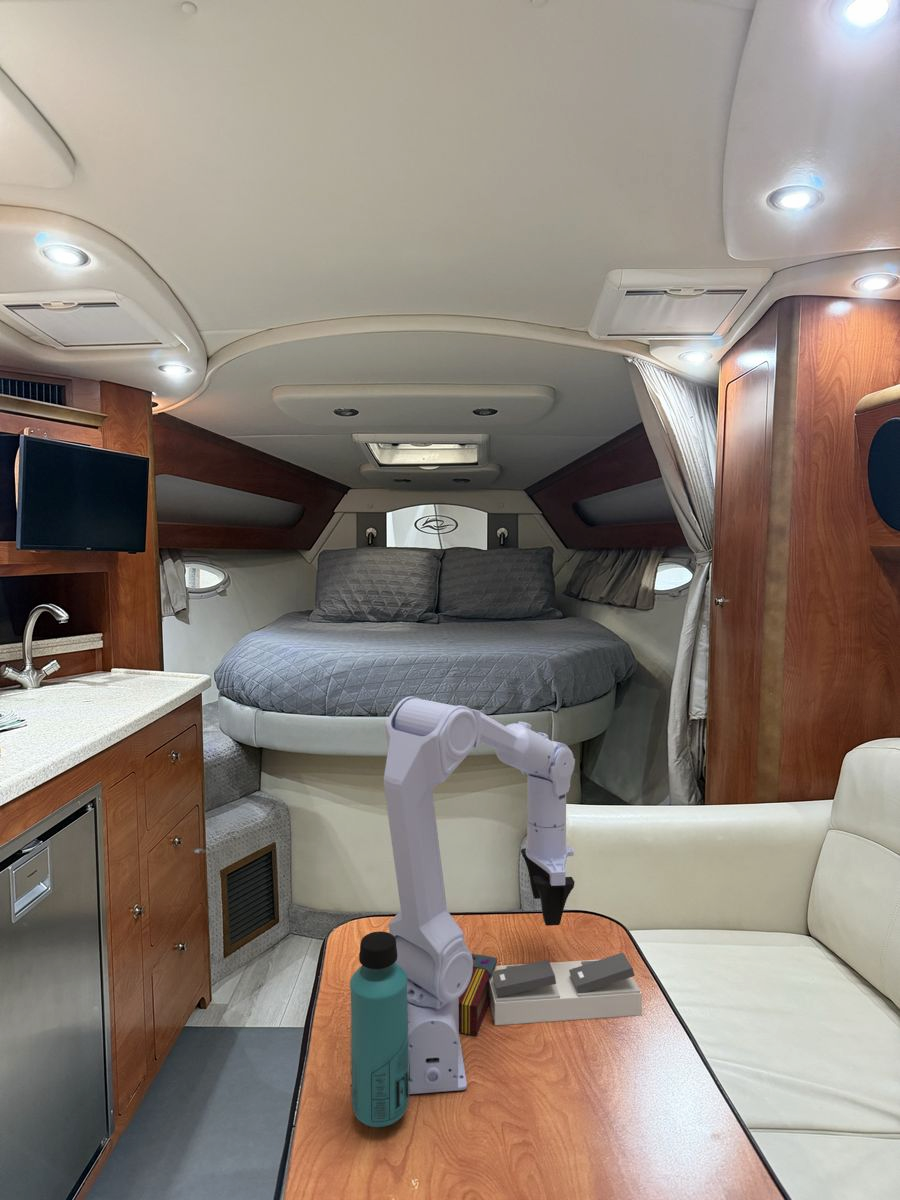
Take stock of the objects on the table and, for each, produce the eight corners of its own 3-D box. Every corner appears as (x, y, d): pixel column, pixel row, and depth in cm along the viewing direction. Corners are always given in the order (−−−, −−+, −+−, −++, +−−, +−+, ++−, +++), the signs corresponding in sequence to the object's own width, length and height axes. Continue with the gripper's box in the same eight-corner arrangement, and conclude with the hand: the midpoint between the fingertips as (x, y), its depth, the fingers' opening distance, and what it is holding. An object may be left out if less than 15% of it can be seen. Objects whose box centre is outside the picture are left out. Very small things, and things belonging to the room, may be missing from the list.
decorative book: (477, 1041, 83) (477, 1003, 83) (361, 1016, 88) (361, 980, 88) (497, 987, 94) (497, 953, 94) (393, 967, 99) (393, 935, 99)
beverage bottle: (401, 1148, 67) (400, 960, 67) (340, 1136, 69) (339, 952, 68) (417, 1098, 74) (416, 926, 73) (361, 1088, 75) (360, 919, 74)
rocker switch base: (641, 1015, 88) (641, 991, 87) (495, 1025, 86) (495, 1001, 86) (620, 978, 96) (620, 956, 95) (485, 986, 94) (485, 964, 93)
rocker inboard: (556, 983, 87) (554, 974, 87) (497, 996, 86) (496, 987, 86) (549, 967, 90) (548, 958, 90) (493, 979, 90) (491, 970, 89)
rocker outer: (634, 975, 88) (632, 967, 88) (578, 994, 87) (576, 985, 87) (624, 960, 91) (622, 951, 91) (571, 977, 91) (568, 969, 91)
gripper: (587, 839, 89) (586, 936, 90) (560, 802, 104) (560, 885, 104) (536, 841, 89) (536, 938, 89) (517, 803, 103) (516, 887, 104)
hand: (546, 910), depth 97 cm, fingers open, 7 cm apart
